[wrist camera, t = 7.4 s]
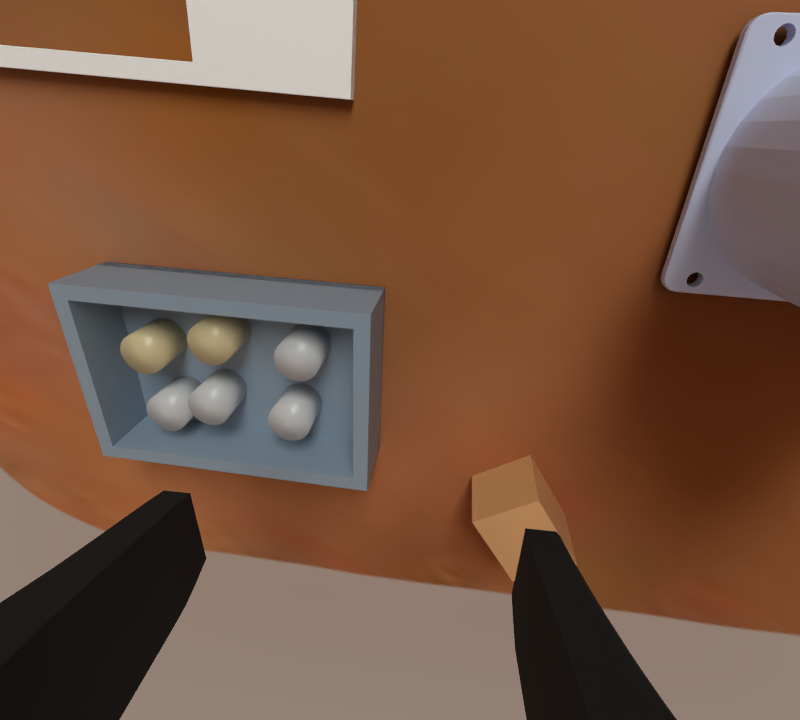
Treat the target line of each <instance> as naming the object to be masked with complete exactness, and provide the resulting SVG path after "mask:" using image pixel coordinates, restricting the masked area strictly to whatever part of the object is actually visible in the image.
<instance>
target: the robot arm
mask: <svg viewBox="0 0 800 720" xmlns="http://www.w3.org/2000/svg"><path fill="white" fill-rule="evenodd" d="M780 26H782V27H785V29H786V31H787V34H786V39H785V40H784V42H783V44H781V45H780V46H777V45H776V44H775V42H774V34H775V32H776V31H777V29H778V28H779V27H780ZM696 272H698V278H697V279H696V281H694V282H693V283H689V284H687V278H688V277H689V275H691V274H692V273H696ZM661 282H662V284H663V285H664V286H665V287H666V288H667V289H668V290H670V291H674V292H683V293H695V294H706V295H718V296H729V297H741V298H752V299H764V300H775V301H787V302H790V303H792V304H794V305H796V306H798V307H800V13H782V12H770V13H765V14H762V15H759V16H757V17H755V18H754V19H752V20H750V21H749V22H748V23H747V25H746V26H745V27H744V28H743V30H742V32H741V34H740V36H739V39H738V42H737V45H736V48H735V51H734V54H733V57H732V60H731V63H730V66H729V69H728V72H727V76H726V79H725V82H724V85H723V88H722V91H721V94H720V97H719V100H718V103H717V106H716V109H715V112H714V115H713V118H712V121H711V124H710V127H709V130H708V133H707V137H706V140H705V143H704V146H703V149H702V152H701V155H700V158H699V161H698V164H697V167H696V170H695V173H694V176H693V179H692V182H691V185H690V188H689V191H688V194H687V198H686V201H685V204H684V207H683V210H682V213H681V216H680V219H679V222H678V225H677V228H676V231H675V234H674V237H673V240H672V243H671V246H670V249H669V252H668V255H667V259H666V262H665V265H664V268H663V271H662V274H661ZM205 560H206V556H205V552H204V548H203V544H202V540H201V536H200V532H199V528H198V523H197V519H196V515H195V511H194V507H193V503H192V499H191V495H190V493H182V492H172V491H163V492H161V493H160V494H158V495H157V496H155V497H154V498H152V499H151V500H149V501H148V502H146V503H145V504H143V505H142V506H141V507H139V508H138V509H136V510H135V511H133V512H132V513H131V514H129V515H128V516H126V517H125V518H124V519H122V520H121V521H119V522H118V523H117V524H115V525H114V526H112V527H111V528H110V529H108V530H107V531H105V532H104V533H103V534H101V535H100V536H98V537H97V538H96V539H94V540H93V541H91V542H90V543H88V544H87V545H86V546H84V547H83V548H81V549H80V550H78V551H77V552H76V553H74V554H73V555H71V556H70V557H68V558H67V559H66V560H64V561H63V562H61V563H60V564H58V565H57V566H55V567H54V568H53V569H51V570H50V571H48V572H46V573H45V574H43V575H42V576H40V577H39V578H37V579H36V580H34V581H33V582H31V583H30V584H29V585H27V586H25V587H24V588H22V589H21V590H19V591H18V592H16V593H15V594H13V595H11V596H10V597H8V598H7V599H5V600H4V601H2V602H1V603H0V720H119V719H120V718H121V716H122V714H123V712H124V711H125V709H126V707H127V706H128V704H129V702H130V700H131V699H132V697H133V695H134V694H135V692H136V690H137V689H138V687H139V685H140V683H141V682H142V680H143V678H144V677H145V675H146V673H147V671H148V670H149V668H150V666H151V665H152V663H153V661H154V660H155V658H156V656H157V654H158V653H159V651H160V649H161V648H162V646H163V644H164V642H165V641H166V639H167V637H168V636H169V634H170V632H171V630H172V629H173V627H174V625H175V623H176V622H177V620H178V618H179V616H180V615H181V613H182V611H183V609H184V607H185V606H186V603H187V601H188V599H189V597H190V595H191V593H192V590H193V588H194V586H195V584H196V581H197V579H198V577H199V574H200V572H201V570H202V567H203V565H204V563H205ZM512 605H513V623H514V638H515V650H516V656H517V663H518V669H519V675H520V682H521V688H522V694H523V700H524V705H525V712H526V718H527V720H676V718H675V717H674V715H673V714H672V713H671V711H670V710H669V709H668V707H667V706H666V704H665V703H664V702H663V700H662V699H661V697H660V696H659V695H658V693H657V692H656V690H655V689H654V687H653V686H652V685H651V683H650V682H649V680H648V679H647V677H646V676H645V675H644V673H643V671H642V670H641V669H640V667H639V666H638V664H637V663H636V661H635V660H634V658H633V657H632V655H631V654H630V652H629V651H628V649H627V647H626V646H625V644H624V643H623V641H622V640H621V638H620V637H619V635H618V634H617V632H616V631H615V629H614V627H613V626H612V624H611V623H610V621H609V620H608V618H607V616H606V615H605V613H604V612H603V610H602V608H601V607H600V605H599V603H598V602H597V600H596V598H595V597H594V595H593V593H592V592H591V590H590V588H589V587H588V585H587V583H586V582H585V580H584V578H583V576H582V575H581V573H580V571H579V569H578V568H577V566H576V564H575V562H574V560H573V559H572V557H571V555H570V553H569V551H568V550H567V548H566V546H565V544H564V542H563V540H562V538H561V536H560V535H559V534H558V533H557V532H556V531H546V530H537V529H527V528H525V533H524V538H523V543H522V547H521V552H520V557H519V562H518V567H517V572H516V577H515V581H514V586H513V591H512Z"/></svg>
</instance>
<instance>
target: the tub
mask: <svg viewBox="0 0 800 720" xmlns="http://www.w3.org/2000/svg"><path fill="white" fill-rule="evenodd" d="M48 286H49V289H50V292H51V295H52V298H53V302H54V305H55V308H56V311H57V314H58V317H59V320H60V323H61V326H62V329H63V332H64V335H65V339H66V342H67V345H68V348H69V351H70V354H71V357H72V360H73V363H74V366H75V369H76V372H77V376H78V379H79V382H80V385H81V388H82V391H83V394H84V397H85V400H86V403H87V406H88V409H89V413H90V416H91V419H92V422H93V425H94V428H95V431H96V434H97V437H98V440H99V443H100V446H101V450H102V453H103V456H110V457H118V458H125V459H133V460H140V461H147V462H155V463H162V464H170V465H177V466H184V467H192V468H199V469H207V470H214V471H221V472H229V473H236V474H244V475H251V476H258V477H266V478H273V479H280V480H288V481H295V482H303V483H310V484H317V485H325V486H332V487H340V488H347V489H354V490H362V491H367V489H368V486H369V482H370V478H371V475H372V471H373V468H374V464H375V460H376V457H377V453H378V450H379V440H380V412H381V384H382V357H383V329H384V301H385V287H376V286H365V285H354V284H343V283H332V282H321V281H310V280H299V279H288V278H277V277H266V276H255V275H244V274H233V273H223V272H212V271H201V270H190V269H179V268H168V267H157V266H146V265H135V264H124V263H113V262H104V263H101V264H99V265H96V266H93V267H90V268H88V269H85V270H82V271H80V272H77V273H74V274H71V275H69V276H66V277H63V278H60V279H58V280H55V281H52V282H50V283H48Z"/></svg>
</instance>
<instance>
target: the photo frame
mask: <svg viewBox="0 0 800 720" xmlns="http://www.w3.org/2000/svg"><path fill="white" fill-rule="evenodd" d="M186 3H187V12H188V21H189V31H190V40H191V49H192V58H193V62H186V61H175V60H163V59H152V58H141V57H130V56H119V55H107V54H96V53H85V52H74V51H63V50H52V49H40V48H29V47H18V46H7V45H0V67H4V68H15V69H26V70H36V71H47V72H58V73H68V74H79V75H90V76H100V77H111V78H122V79H132V80H143V81H154V82H165V83H175V84H186V85H197V86H207V87H218V88H229V89H239V90H250V91H261V92H271V93H282V94H293V95H303V96H314V97H325V98H336V99H346V100H354V80H355V49H356V18H357V0H186Z"/></svg>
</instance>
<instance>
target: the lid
mask: <svg viewBox="0 0 800 720" xmlns="http://www.w3.org/2000/svg"><path fill="white" fill-rule="evenodd" d="M472 523H473V524H474V526H475V527H476V529H477V530H478V532H479V533H480V535H481V536H482V538H483V539H484V540H485V542H486V543H487V545H488V546H489V548H490V549H491V551H492V552H493V554H494V555H495V557H496V558H497V559H498V561H499V562H500V564H501V565H502V567H503V568H504V570H505V571H506V573H507V574H508V576H509V577H510V578H511V580H512V581H515V577H516V572H517V567H518V562H519V557H520V552H521V547H522V543H523V538H524V533H525V528H527V529H537V530H546V531H556V532H557V533H558V534H559V535H560V536H561V538H562V540H563V542H564V544H565V546H566V548H567V550H568V551H569V553H570V555H571V557H572V559H573V560H574V562H575V564H576V565H577V562H576V558H575V554H574V550H573V546H572V542H571V538H570V534H569V530H568V525H567V521H566V517H565V514H564V512H563V510H562V508H561V507H560V505H559V503H558V502H557V500H556V498H555V496H554V495H553V493H552V491H551V490H550V488H549V486H548V484H547V483H546V481H545V479H544V477H543V476H542V474H541V472H540V471H539V469H538V467H537V465H536V464H535V462H534V460H533V459H532V457H531V455H529V456H526V457H523V458H520V459H518V460H515V461H512V462H509V463H507V464H504V465H501V466H498V467H495V468H493V469H490V470H487V471H484V472H482V473H479V474H476V475H473V476H472Z"/></svg>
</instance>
